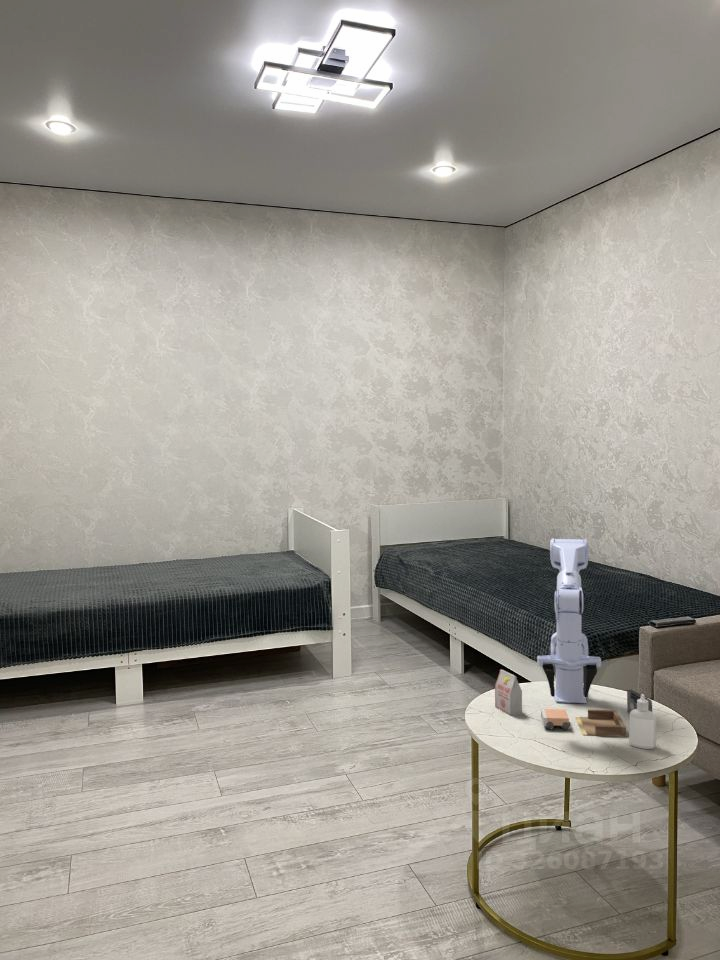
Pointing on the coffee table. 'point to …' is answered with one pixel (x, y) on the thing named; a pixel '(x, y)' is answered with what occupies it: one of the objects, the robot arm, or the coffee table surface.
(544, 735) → the coffee table surface
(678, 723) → the coffee table surface
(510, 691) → the gable top carton
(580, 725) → the tray
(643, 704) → the eye dropper bottle
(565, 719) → the trolley
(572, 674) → the robot arm
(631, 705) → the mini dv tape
